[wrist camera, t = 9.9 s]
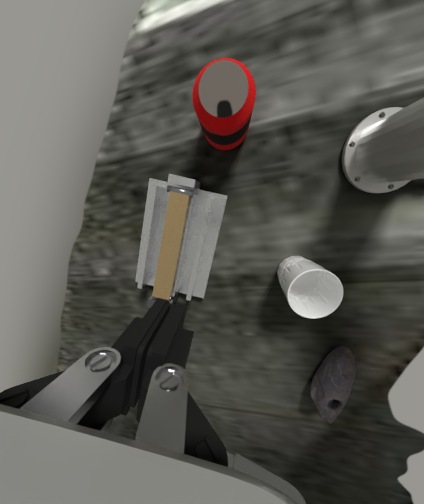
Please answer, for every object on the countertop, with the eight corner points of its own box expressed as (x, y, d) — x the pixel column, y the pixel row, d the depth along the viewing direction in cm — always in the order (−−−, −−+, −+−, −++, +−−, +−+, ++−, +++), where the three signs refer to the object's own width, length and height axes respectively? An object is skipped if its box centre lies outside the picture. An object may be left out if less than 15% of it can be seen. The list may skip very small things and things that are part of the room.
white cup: (265, 268, 40) (276, 290, 31) (300, 244, 39) (323, 258, 29) (289, 298, 41) (307, 328, 32) (324, 275, 40) (354, 299, 30)
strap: (194, 191, 32) (193, 190, 31) (173, 298, 36) (171, 301, 35) (169, 185, 32) (167, 184, 31) (151, 293, 36) (149, 295, 35)
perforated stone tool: (330, 334, 43) (349, 360, 36) (354, 343, 43) (377, 370, 36) (299, 389, 46) (311, 421, 40) (322, 397, 46) (337, 430, 40)
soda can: (206, 153, 36) (194, 131, 25) (201, 105, 35) (186, 56, 23) (249, 147, 35) (258, 121, 24) (246, 97, 34) (255, 43, 22)
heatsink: (229, 190, 37) (228, 187, 30) (203, 298, 43) (197, 319, 35) (154, 172, 38) (134, 165, 30) (139, 282, 43) (119, 299, 36)
